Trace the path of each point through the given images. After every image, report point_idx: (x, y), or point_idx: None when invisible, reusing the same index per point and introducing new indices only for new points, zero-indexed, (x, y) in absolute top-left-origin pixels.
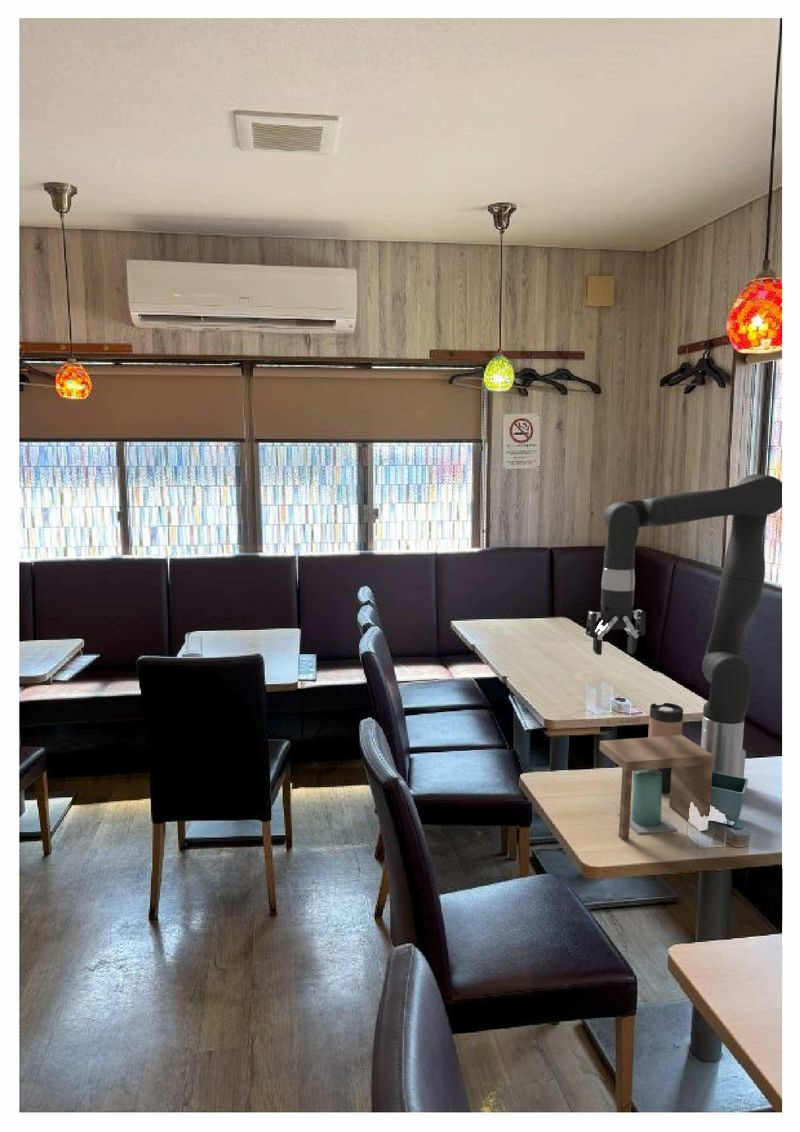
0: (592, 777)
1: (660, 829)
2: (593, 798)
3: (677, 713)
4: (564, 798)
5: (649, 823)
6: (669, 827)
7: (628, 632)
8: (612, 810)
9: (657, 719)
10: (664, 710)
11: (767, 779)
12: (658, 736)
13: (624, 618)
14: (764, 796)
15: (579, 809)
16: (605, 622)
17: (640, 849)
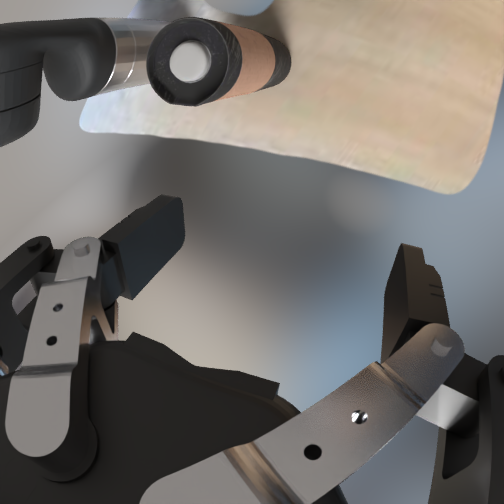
0: (365, 138)
1: None
2: (414, 65)
3: (179, 19)
4: (461, 89)
5: None
6: None
7: (111, 316)
8: (406, 16)
9: (236, 39)
10: (199, 49)
11: None
12: (251, 37)
13: (44, 427)
14: (136, 15)
15: (459, 44)
16: (345, 498)
17: None
